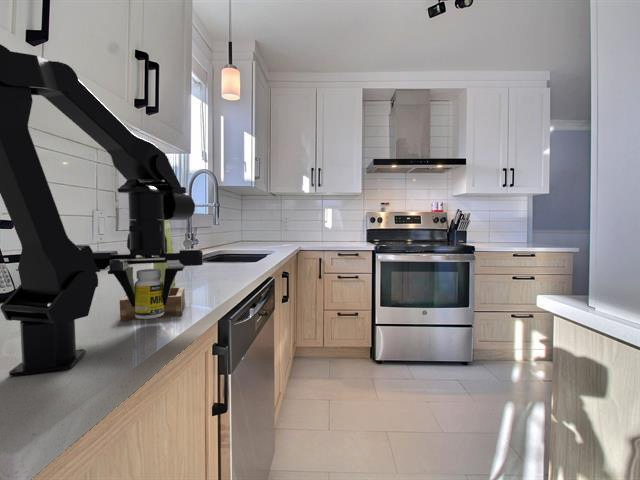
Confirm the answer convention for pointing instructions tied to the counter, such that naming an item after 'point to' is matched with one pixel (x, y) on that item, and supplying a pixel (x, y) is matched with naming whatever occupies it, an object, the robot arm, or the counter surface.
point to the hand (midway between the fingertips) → (149, 305)
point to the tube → (169, 250)
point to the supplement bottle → (149, 294)
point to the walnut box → (170, 309)
